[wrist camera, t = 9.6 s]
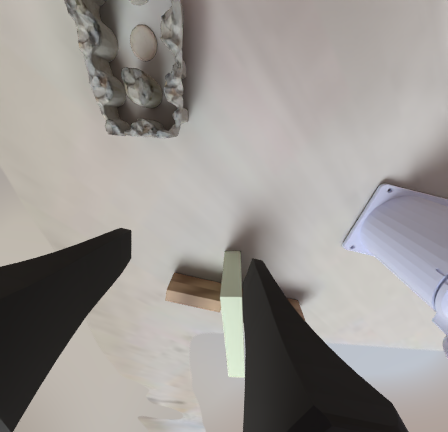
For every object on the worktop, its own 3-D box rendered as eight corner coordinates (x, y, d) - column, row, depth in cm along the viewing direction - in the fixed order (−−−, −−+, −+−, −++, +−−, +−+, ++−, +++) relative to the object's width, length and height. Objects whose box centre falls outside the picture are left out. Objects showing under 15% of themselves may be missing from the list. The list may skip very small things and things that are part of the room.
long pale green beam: (224, 251, 23) (219, 296, 17) (240, 251, 23) (241, 297, 16) (230, 323, 29) (228, 376, 22) (243, 323, 29) (244, 377, 22)
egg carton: (94, -23, 13) (39, -81, 10) (193, -14, 13) (176, -70, 10) (117, 133, 18) (85, 133, 14) (191, 141, 18) (179, 143, 14)
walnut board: (297, 300, 26) (305, 320, 23) (292, 309, 26) (298, 329, 24) (174, 272, 25) (166, 289, 22) (172, 282, 26) (165, 300, 23)
